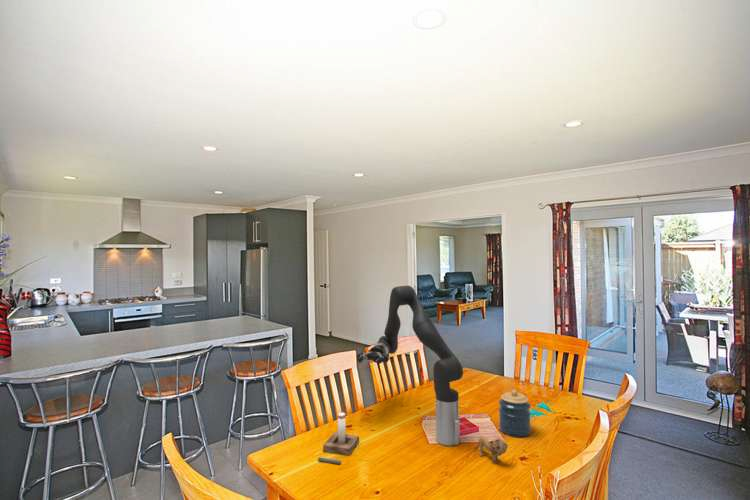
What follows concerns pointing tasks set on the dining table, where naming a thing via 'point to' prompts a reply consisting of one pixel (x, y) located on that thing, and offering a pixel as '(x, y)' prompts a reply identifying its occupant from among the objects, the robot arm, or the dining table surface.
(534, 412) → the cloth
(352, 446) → the brown square frame
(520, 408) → the canister
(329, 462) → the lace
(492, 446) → the lion figurine
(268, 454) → the dining table surface
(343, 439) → the slim white bottle
